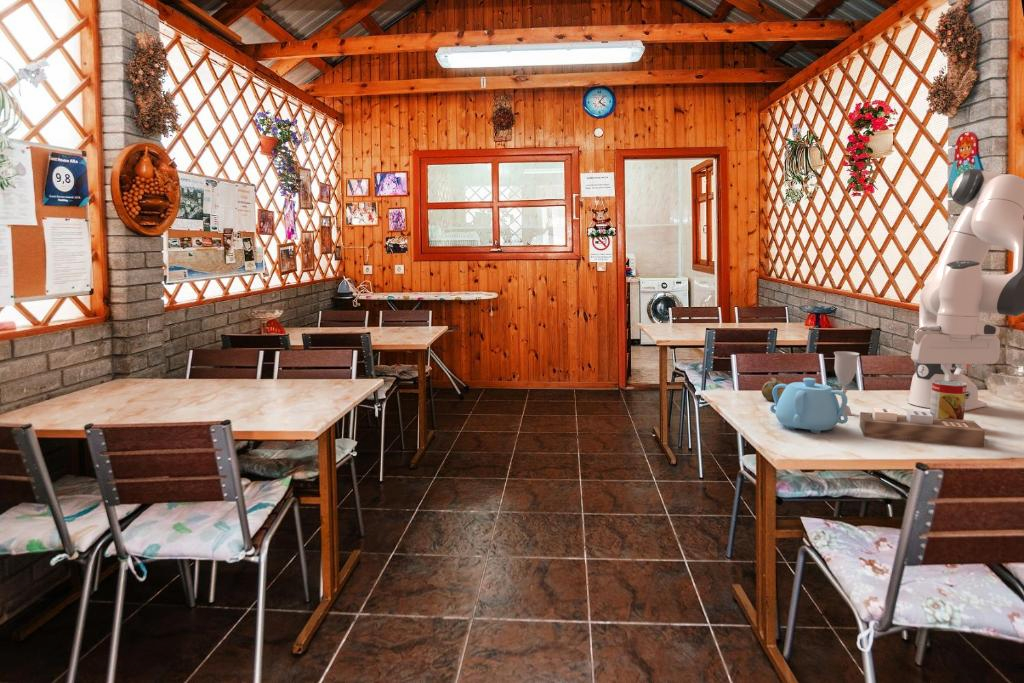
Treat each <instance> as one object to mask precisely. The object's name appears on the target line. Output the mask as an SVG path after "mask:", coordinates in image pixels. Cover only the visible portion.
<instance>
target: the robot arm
mask: <svg viewBox="0 0 1024 683" xmlns="http://www.w3.org/2000/svg"><path fill="white" fill-rule="evenodd" d="M951 199H952V202H955V203H956V204H957V205H960V206H962V207H964V206H965V207H964V208H963V209H962V211H961V213H960V214H959V216H958V218H957V220H956V221H955V223H954V225H953V227H952V229H951V231H950V233H949V235H948V237H947V240H946V241H945V244H944V246H943V248H942V250H941V253H940V255H939V258H938V260H937V264H936V267H935V269H934V273H933V274H932V277H931V279H930V281H929V282H927V283H926V284H925V285H924V286H923V288H921V290H920V294H919V307H918V308H919V310H918V312H919V313H918V320H919V321H918V328H917V329H916V330H915V331H914V334H913V340H914V341H913V344H912V347H911V354H910V359H911V360H912V361H913V362H914V370H915V373H914V374H913V375H912V378H911V379H912V380H911V384H910V390H909V395H906V400H907V403H909V404H911V405H913V406H917V407H922V408H928V409H930V403H931V391H932V381H934V380H945V381H959V382H963V383H966V384H967V388H966V399H965V410H964V412H965V411H970V410H974V409H981V408H984V407H987V402H985V401H982V400H978V399H979V389H978V386H977V385H976V384H975V383H974V382H972V380H970V379H969V378H968V377H967V376H966V375H965V374H963V373H965V371H966V370H968V369H969V368H970V365H976V364H977V365H980V364H981V365H995V364H996V363H998V361H999V360H1000V355H1001V341H1000V338H999V337H998V335H999V334H1000V332H1001V331H1000V330H1001V328H1000V326H999V325H998V326H997V325H995V324H991V323H988V322H985V321H982V320H980V318H981V316H980V315H981V313H984V314H985V313H986V314H999V315H1004V316H1012V317H1019V316H1021V315H1022V314H1024V178H1022V177H1021V176H1018V175H1015V174H1009V173H1007V174H1005V173H1000V172H994V171H989V170H988V171H987V170H982V169H981V168H968V169H966V170H964V171H963V172H961V174H960V175H958V176H957V178H956V179H955V181H954V182H953V184H952V188H951ZM992 246H995V247H998V248H999V247H1000V248H1003V249H1005V250H1008V251H1010V252H1012V253H1013V265H1012V272H1010V273H1006V274H983V269H982V265H983V263H984V261H985V259H986V257H987V255H988V253H989V251H990V248H991V247H992Z"/></svg>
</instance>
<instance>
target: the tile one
mask: <svg viewBox="0 0 1024 683" xmlns="http://www.w3.org/2000/svg"><path fill="white" fill-rule="evenodd" d="M871 413H872V419H873V420H883V421H896V422H897V415H898V412H897V411H896V410H895V409H893V408H892V409H891V408H880V407H879V408H877V407H873V408H872V412H871Z"/></svg>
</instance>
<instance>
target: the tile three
mask: <svg viewBox="0 0 1024 683" xmlns="http://www.w3.org/2000/svg"><path fill="white" fill-rule="evenodd" d="M942 423H943V424H944V425H945V426H957V427H968V426H967V425H966V424H965V423H958V422H945V421H942Z"/></svg>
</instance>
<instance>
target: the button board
mask: <svg viewBox="0 0 1024 683" xmlns="http://www.w3.org/2000/svg"><path fill="white" fill-rule="evenodd" d="M872 413H873V412H864V411H860V413H859V424H858V425H859V426H858V427H859V428H860V431H861V432H862V435H863V437H866V438H876V439H877V438H878V439H888V440H902V441H913V442H922V443H923V442H924V443H933V444H934V443H935V444H946V445H957V446H968V447H979V448H984V446H985V441H986V440H985V438H986V430H985V429H984V428H983V427H981V426H980V425H979V424H978V423H977V422H975V421H974V420H970V419H964V420H957V419H944V418H933V424H920V423H908V421H907V420H906V418H907V415H904V414H897V422H896V421H883V420H873V419H872ZM942 421H945V422H958V423H965V424H966V425H967V426H968V427H957V426H945V425H944V424H943V423H942Z"/></svg>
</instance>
